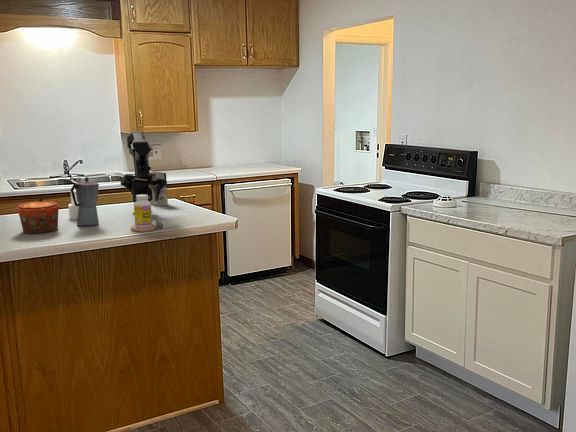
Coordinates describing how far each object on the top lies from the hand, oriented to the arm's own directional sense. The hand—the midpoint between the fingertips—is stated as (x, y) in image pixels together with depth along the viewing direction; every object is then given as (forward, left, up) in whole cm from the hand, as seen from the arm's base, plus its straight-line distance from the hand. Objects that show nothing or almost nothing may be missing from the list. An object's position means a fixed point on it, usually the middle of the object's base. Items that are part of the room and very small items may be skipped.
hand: (146, 200), depth 236 cm
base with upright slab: (-38, +3, -10) cm, 39 cm away
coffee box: (-23, +43, -10) cm, 50 cm away
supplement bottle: (+4, -9, -9) cm, 13 cm away
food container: (-34, -24, -11) cm, 43 cm away
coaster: (+4, -9, -10) cm, 14 cm away
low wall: (+8, -4, -10) cm, 14 cm away
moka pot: (-24, -9, -10) cm, 27 cm away
